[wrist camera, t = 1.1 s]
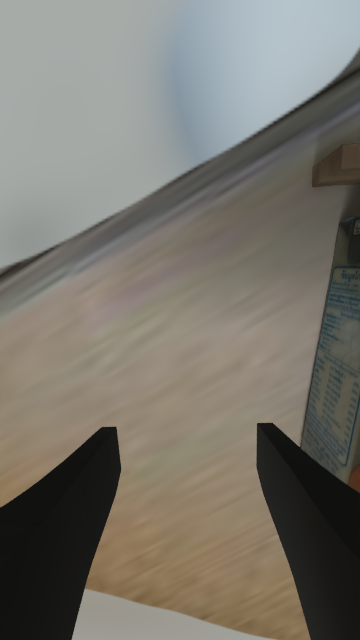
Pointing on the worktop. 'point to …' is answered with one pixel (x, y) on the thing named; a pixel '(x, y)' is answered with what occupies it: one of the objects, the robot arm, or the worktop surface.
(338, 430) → the beverage carton
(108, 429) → the robot arm
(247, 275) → the worktop surface
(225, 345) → the worktop surface
